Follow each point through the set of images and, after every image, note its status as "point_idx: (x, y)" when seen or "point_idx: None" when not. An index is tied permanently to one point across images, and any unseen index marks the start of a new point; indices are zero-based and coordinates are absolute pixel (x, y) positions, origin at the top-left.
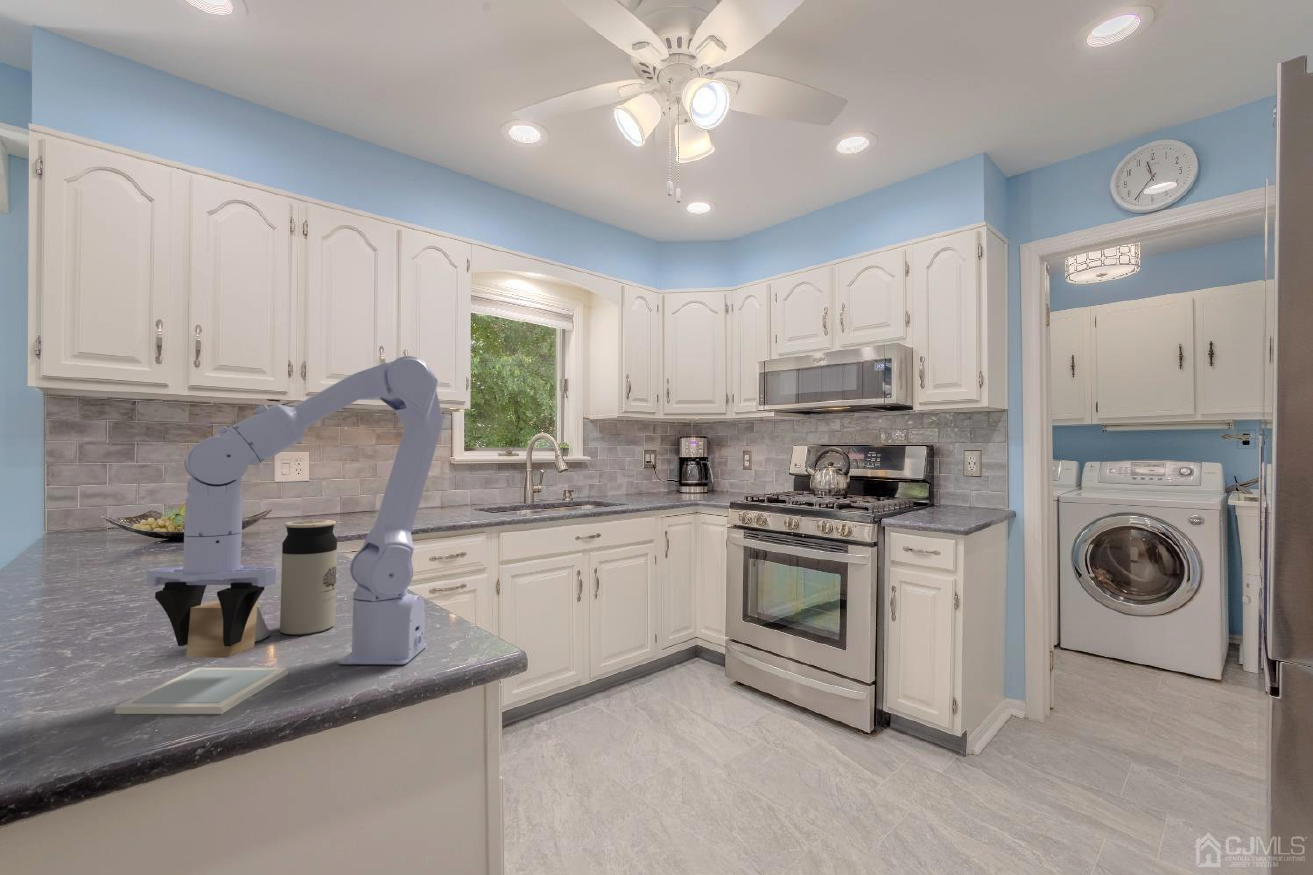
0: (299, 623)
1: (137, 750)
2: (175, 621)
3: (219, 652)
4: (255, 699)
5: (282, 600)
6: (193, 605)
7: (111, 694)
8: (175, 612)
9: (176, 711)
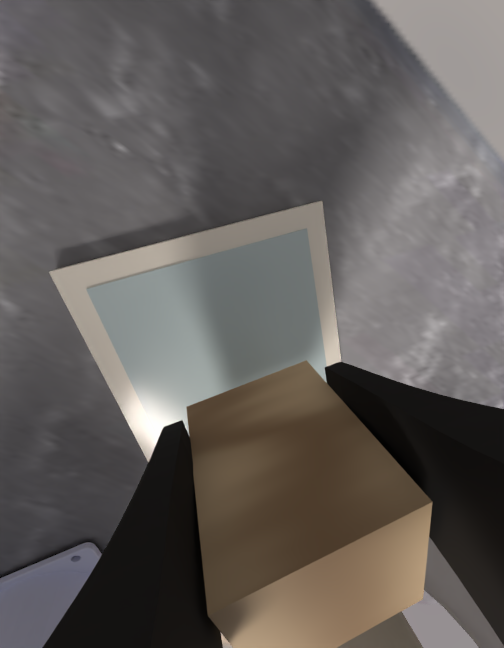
0: None
1: (15, 9)
2: (409, 401)
3: (215, 406)
4: (73, 357)
5: (399, 631)
6: (443, 522)
7: (405, 276)
8: (449, 428)
9: (175, 238)
